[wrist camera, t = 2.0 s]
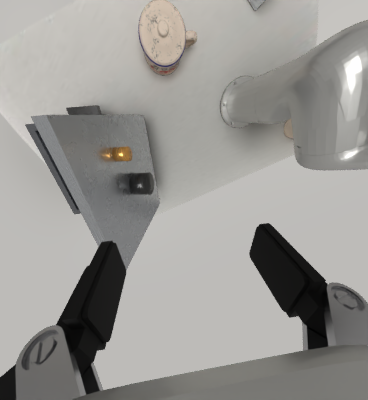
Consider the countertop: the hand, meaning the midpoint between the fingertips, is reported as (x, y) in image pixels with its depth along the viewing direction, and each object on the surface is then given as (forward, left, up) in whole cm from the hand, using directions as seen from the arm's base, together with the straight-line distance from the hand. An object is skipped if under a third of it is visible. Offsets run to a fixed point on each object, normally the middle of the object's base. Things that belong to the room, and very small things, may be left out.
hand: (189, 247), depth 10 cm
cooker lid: (+9, +2, -19) cm, 21 cm away
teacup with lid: (-3, -22, -42) cm, 47 cm away
